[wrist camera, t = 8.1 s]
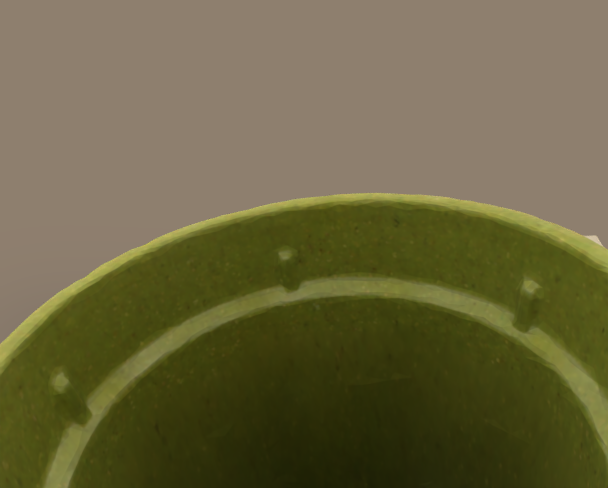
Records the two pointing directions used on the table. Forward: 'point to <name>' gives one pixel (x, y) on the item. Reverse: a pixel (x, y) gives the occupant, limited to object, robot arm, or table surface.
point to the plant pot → (321, 355)
